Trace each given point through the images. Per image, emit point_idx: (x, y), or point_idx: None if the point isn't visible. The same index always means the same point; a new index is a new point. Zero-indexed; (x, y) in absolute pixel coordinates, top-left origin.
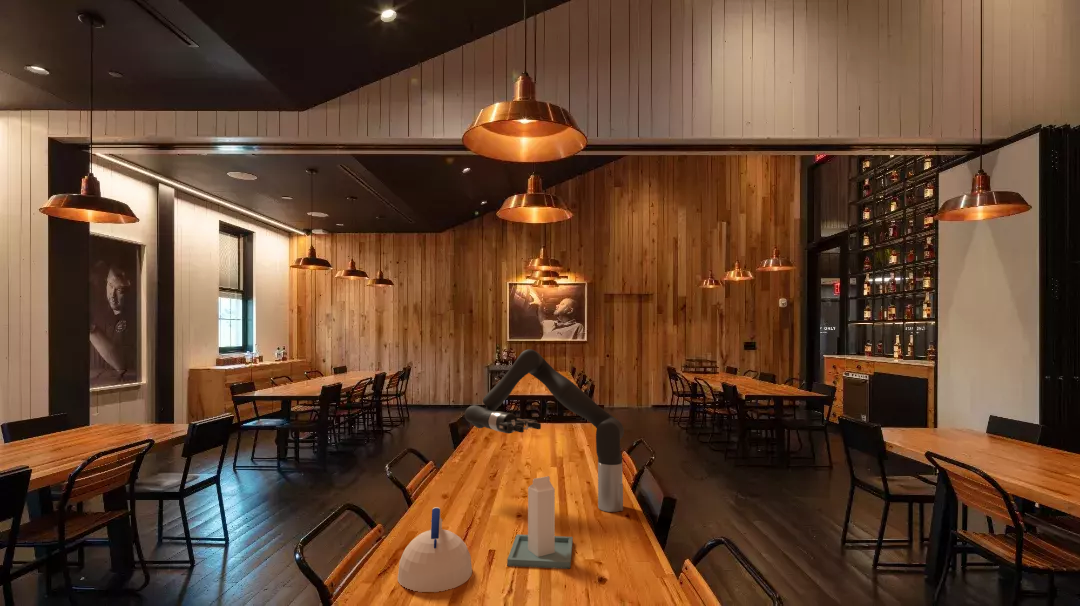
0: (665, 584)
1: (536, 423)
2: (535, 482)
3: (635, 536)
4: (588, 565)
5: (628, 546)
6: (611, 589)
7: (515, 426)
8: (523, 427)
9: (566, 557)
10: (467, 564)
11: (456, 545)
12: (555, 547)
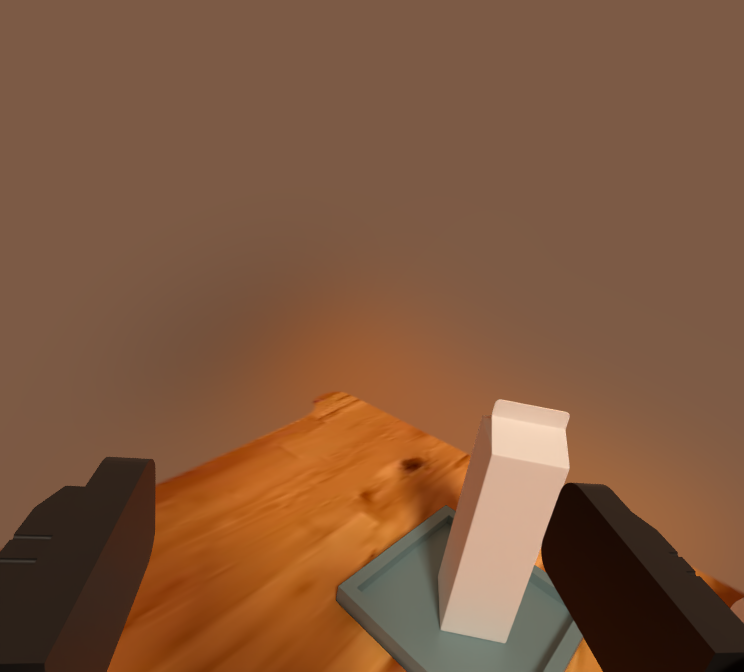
0: (335, 411)
1: (121, 524)
2: (555, 423)
3: (159, 510)
4: (396, 503)
5: (239, 494)
6: (419, 445)
7: (739, 649)
8: (563, 490)
9: (439, 521)
10: (731, 607)
11: None
12: (415, 598)
